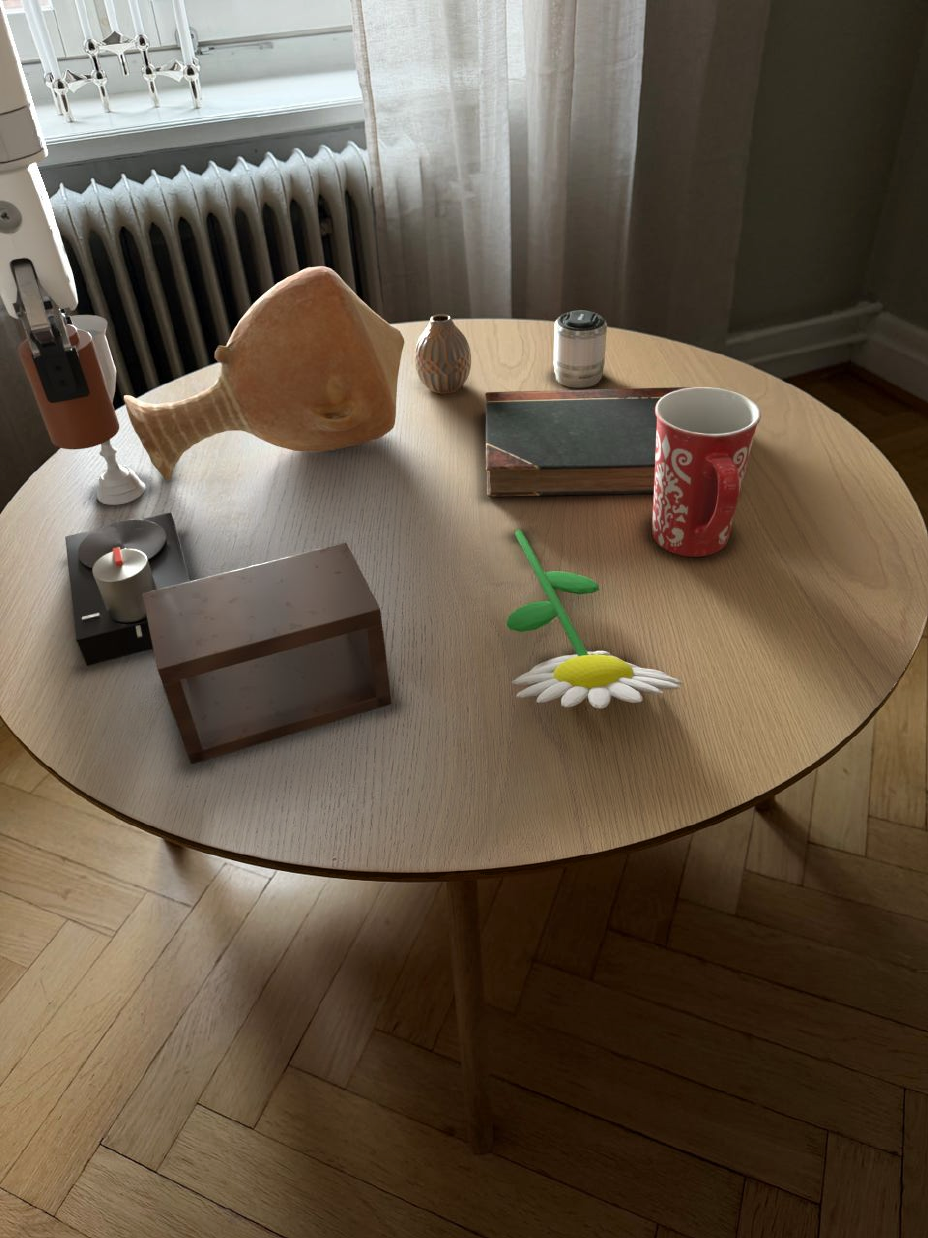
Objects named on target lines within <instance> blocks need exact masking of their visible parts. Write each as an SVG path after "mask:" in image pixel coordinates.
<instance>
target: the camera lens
mask: <svg viewBox="0 0 928 1238" xmlns="http://www.w3.org/2000/svg"><path fill="white" fill-rule="evenodd" d="M607 331H608V323H607V320H606V319H605V318H604V317H603V316H602V315H600V314H599V313H596V312H593V311H589V310H581V309H579V310H572V311H569V312H566V313H562V314H561V315H560V316H558V318H557V319H556V320H555V322H554V332H553V333H554V337H553V338H554V340H553V367H554V369H553V371H554V374H555V380H556V381H557V382H558V383H559V384H560V385H562V386H565V387H568V388H576V389H581V388H583V389H584V388H589V387H592V386H593V387H594V386H595V385H597V384H598V383H599V382H600V381H601V379H602V378H603V374H604V367H605V364H606V363H605V361H606V347H607V346H606V343H607Z"/></svg>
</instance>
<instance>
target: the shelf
mask: <svg viewBox="0 0 928 1238" xmlns="http://www.w3.org/2000/svg"><path fill="white" fill-rule="evenodd" d="M142 596H143V601H144V606H145V611H146V616H147V621H148V626H149V631H150V636H151V641H152V646H153V648H152V650H153V655H154V660H155V665H156V671H157V673H158V676H159V679H160V681H161V684H162V687H163V691H164V693H165V695H166V699H167V701H168V703H169V704H168V706H169V708H170V710H171V713H172V716H173V719H174V723H175V725H176V728H177V730H178V733H179V736H180V739H181V742H182V745H183V747H184V751H185V753H186V756H187V759H188V761H189V764H190V765H194V764H197V763H201V762H204V761H208V760H210V759H214V758H217V757H221V756H224V755H228V754H230V753H234V752H237V751H241V750H243V749H247V748H251V747H254V746H257V745H260V744H264V743H268V742H271V741H273V740H277V739H280V738H284V737H287V736H290V735H293V734H297V733H300V732H304V731H307V730H310V729H314V728H317V727H320V726H323V725H327V724H331V723H333V722H336V721H340V720H343V719H347V718H350V717H353V716H357V715H361V714H364V713H367V712H370V711H373V710H377V709H380V708H384V707H388V706H390V705H392V704H393V700H392V691H391V682H390V676H389V667H388V659H387V651H386V642H385V634H384V625H383V618H382V617H383V616H382V611H381V607H380V605H379V603H378V601H377V599H376V597H375V595H374V593H373V591H372V589H371V587H370V586H369V584H368V582H367V579H366V578H365V575H364V574H363V572H362V570H361V567H360V566H359V564H358V562H357V560H356V558H355V556H354V554H353V552H352V550H351V547H350V546H349V544H348V542H343V543H338V544H334V545H331V546H326V547H322V548H319V549H314V550H310V551H305V552H302V553H299V554H298V553H297V554H294V555H291V556H287V557H283V558H278V559H274V560H270V561H267V562H262V563H259V564H253V565H250V566H246V567H241V568H238V569H235V570H231V571H226V572H222V573H218V574H215V575H211V576H207V577H203V578H198V579H195V580H190V582H186V583H182V584H178V585H174V586H170V587H166V588H162V589H158V590H154V591H150V592H146V593H143V594H142Z"/></svg>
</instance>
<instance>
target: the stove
mask: <svg viewBox="0 0 928 1238" xmlns="http://www.w3.org/2000/svg"><path fill="white" fill-rule="evenodd" d="M140 519H141V520H148V521H152V522H154V523H157V524H158V525H160V526H161V527H162V528H163V529H164V530H165V533H166V536H167V542H166V545H165V547H164V549H163V550H162V552H161V553H160V554H159V555H158V556H157V557H155V558H154V559H153V560H151V561H150V562H148V563H149V566H150V569H151V572H152V575H153V578H154V581H155V585H156V588H157V590H158V589H162V588H166V587H170V586H174V585H178V584H182V583H186V582H190V581H191V577H190V574H189V569H188V565H187V563H186V562H187V561H186V558H185V555H184V552H183V551H184V550H183V547H182V544H181V539H180V536H179V533H178V529H177V526H176V523H175V520H174V516H173V513H172V512H171V511H170V512H166V513H161V514H156V515H153V516H149V517H144V518H140ZM97 529H98V528H96V529H92V530H88V531H87V530H86V531H82V532H78V533H74V534H70V535H66V536H64V539H65V549H66V558H67V566H68V578H69V585H70V595H71V604H72V605H71V606H72V613H73V614H72V615H73V624H74V632H75V640H76V643H77V646H78V648H79V651H80V653H81V655H82V657H83V661H84V663H85V664H86V666H87V667H88V666H92V665H96V664H100V663H103V662H108V661H111V660H114V659H118V658H121V657H125V656H130V655H133V654H137V653H140V652H145V651H148V650H151V649H152V650H153V646H152V641H151V636H150V631H149V626H148V621H147V618H145V619H142V620H140V621H136V622H129V623H123V622H118V621H115V620H113V619H112V618H111V617H110V616H109V615H108V612H107V609H106V607H105V604H104V601H103V599H102V596H101V593H100V591H99V588H98V586H97V583H96V580H95V578H94V575H93V571H92V570H90V569H88V568H86V567H85V566H84V565H83V564H82V563H81V562H80V560H79V557H78V548H79V546H80V544H81V542H82V541H83V540H84V539H85V538H86V537H87V536H88V535H89V534H91V533H92V532H93V531H95V530H97Z"/></svg>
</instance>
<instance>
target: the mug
mask: <svg viewBox="0 0 928 1238" xmlns="http://www.w3.org/2000/svg"><path fill="white" fill-rule="evenodd" d="M694 387H695V388H686V389H681V390H677V391H674V392H671V393H669V394H667V395H665V396H663V397H662V398H661V399H660V400H659V401H658V403H657V404H656V407H655V413H656V416H657V433H656V456H655V478H654V494H653V501H652V502H653V504H652V519H651V535H652V538H653V540H654V541H655V543H657V544H658V545H659V546H660V547H661V548H663V550H666V551H668V552H670V553H672V554H675V555H678V556H682V557H692V558H693V557H705V556H710V555H713V554H716V553H718V552H719V551H721V550H722V549H724V548H725V547H726V545H727V543H728V540H729V538H730V533H731V530H732V526H733V525H732V524H733V521H734V516H735V513H736V509H737V506H738V500H739V498H740V493H741V488H742V485H743V481H744V476H745V473H746V468H747V467H748V461H749V458H750V454H751V449H752V445H753V441H754V437H755V433H756V430H757V427H758V425H759V423H760V421H761V418H762V413H761V409H760V407H759V406H758V404H757V403H756V402H754V401H753V400H752V399H750V397H749V398H748V397H747V396H745V395H743V394H741V393H738V392H735V391H732V390H728V389H724V388H717V387H706V386H694Z"/></svg>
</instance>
